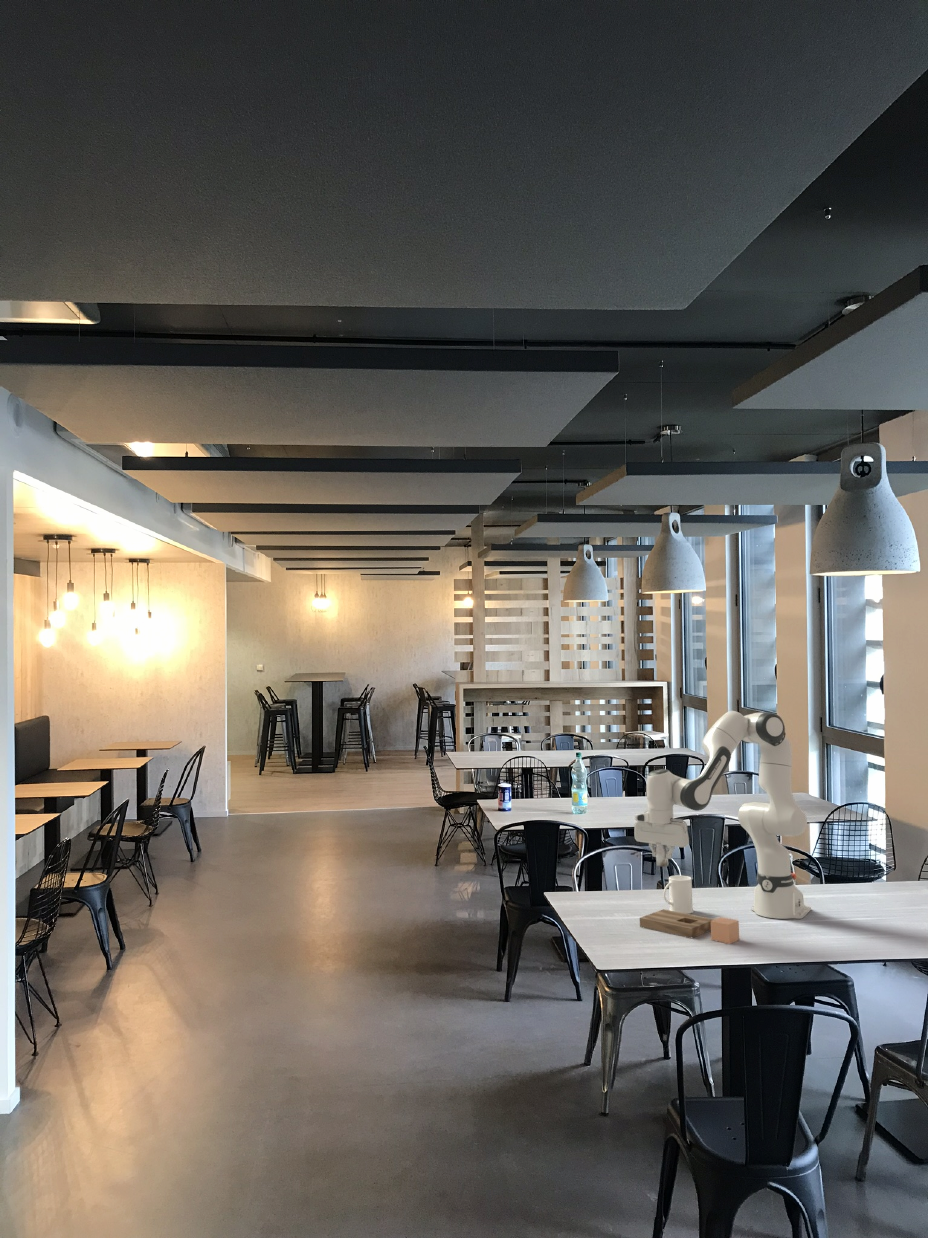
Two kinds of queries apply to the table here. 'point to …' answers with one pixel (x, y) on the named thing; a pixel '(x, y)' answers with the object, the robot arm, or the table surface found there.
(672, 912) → the board
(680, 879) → the mug
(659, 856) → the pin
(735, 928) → the tan wooden block
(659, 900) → the table surface
